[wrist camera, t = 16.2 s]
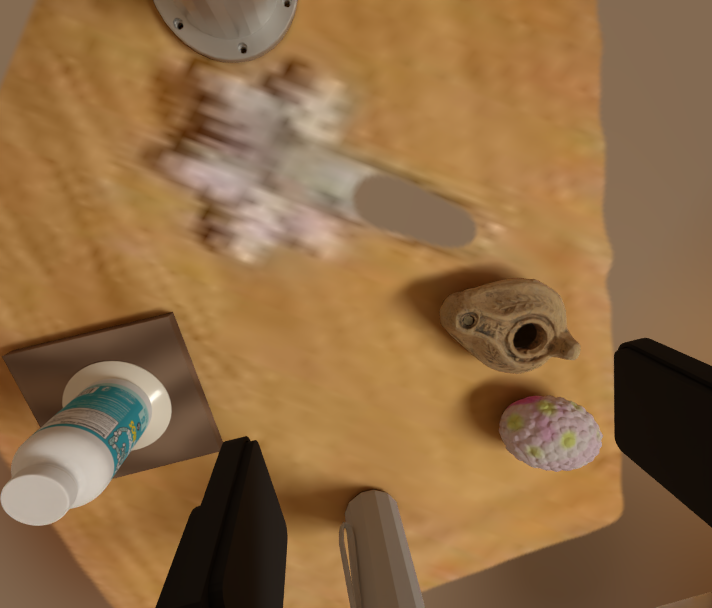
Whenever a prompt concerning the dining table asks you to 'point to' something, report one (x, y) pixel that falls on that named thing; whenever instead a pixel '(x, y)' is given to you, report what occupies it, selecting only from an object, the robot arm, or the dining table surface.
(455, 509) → the dining table surface
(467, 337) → the oil lamp
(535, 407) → the decorative item
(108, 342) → the serving board
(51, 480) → the pill bottle
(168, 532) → the dining table surface
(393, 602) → the water bottle
